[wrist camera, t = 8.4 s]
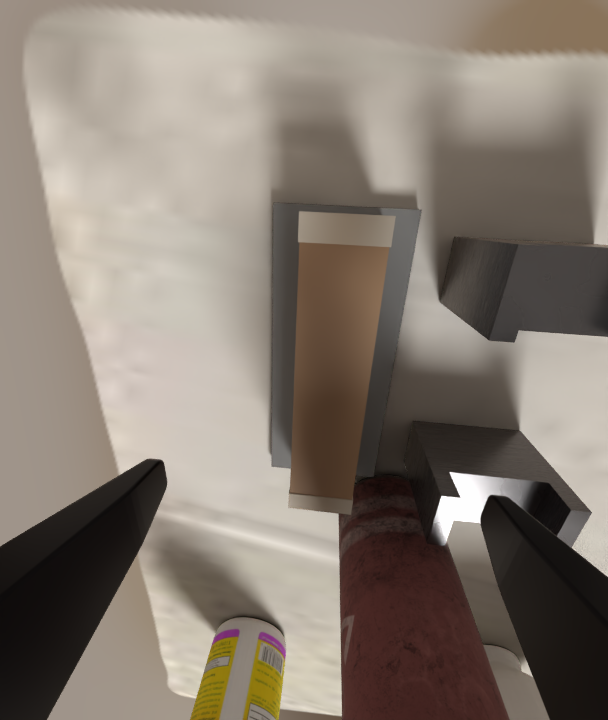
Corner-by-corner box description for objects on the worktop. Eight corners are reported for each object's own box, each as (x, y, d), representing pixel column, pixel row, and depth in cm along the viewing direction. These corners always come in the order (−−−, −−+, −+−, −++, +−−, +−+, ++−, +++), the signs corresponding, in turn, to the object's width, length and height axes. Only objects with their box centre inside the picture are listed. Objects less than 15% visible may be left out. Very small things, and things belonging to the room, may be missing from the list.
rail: (382, 217, 14) (395, 216, 11) (348, 469, 19) (350, 514, 16) (307, 213, 14) (299, 211, 11) (295, 463, 20) (288, 507, 17)
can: (402, 549, 23) (492, 975, 10) (323, 516, 22) (309, 925, 9) (454, 495, 20) (662, 965, 7) (367, 457, 20) (430, 898, 7)
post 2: (520, 430, 18) (592, 512, 13) (503, 471, 19) (563, 560, 14) (412, 420, 18) (441, 496, 13) (403, 461, 19) (426, 543, 14)
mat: (418, 210, 14) (421, 209, 13) (372, 470, 20) (373, 477, 19) (275, 203, 14) (273, 202, 14) (273, 459, 20) (271, 466, 20)
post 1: (594, 244, 14) (742, 256, 9) (568, 310, 15) (684, 355, 10) (454, 236, 14) (518, 244, 9) (439, 302, 15) (489, 340, 10)
